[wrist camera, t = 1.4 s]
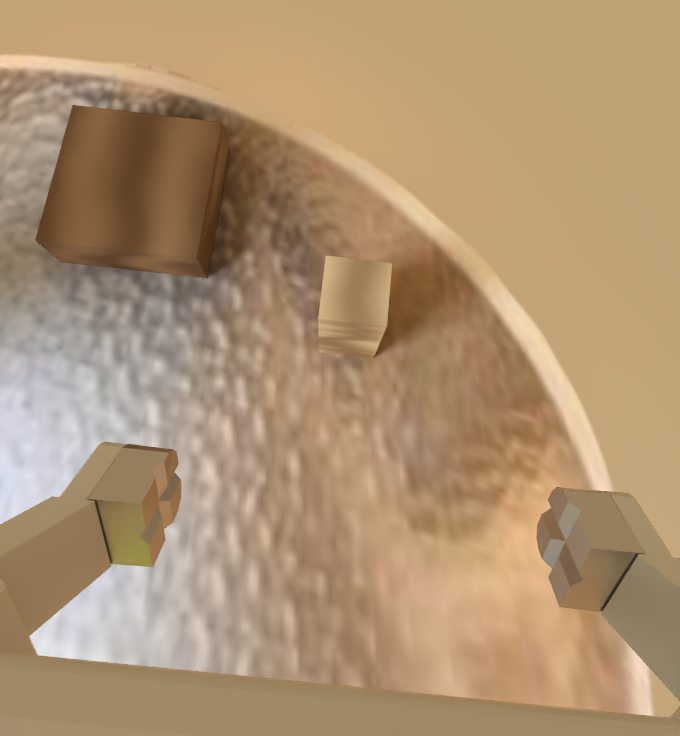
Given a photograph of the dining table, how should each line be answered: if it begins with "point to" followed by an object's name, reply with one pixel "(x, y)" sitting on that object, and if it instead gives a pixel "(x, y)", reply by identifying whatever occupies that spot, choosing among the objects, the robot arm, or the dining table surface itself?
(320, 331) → the maple block
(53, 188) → the walnut base block
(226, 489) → the dining table surface
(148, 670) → the robot arm
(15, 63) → the dining table surface
